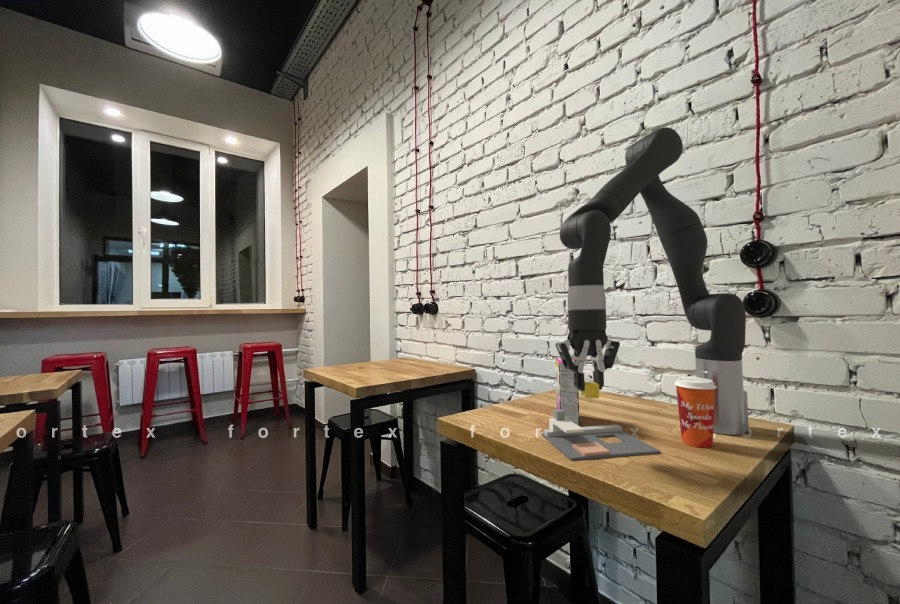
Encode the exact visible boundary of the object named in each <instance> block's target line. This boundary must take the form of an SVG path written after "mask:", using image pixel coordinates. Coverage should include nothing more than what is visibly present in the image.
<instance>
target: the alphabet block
mask: <svg viewBox="0 0 900 604" xmlns="http://www.w3.org/2000/svg"><path fill="white" fill-rule="evenodd" d="M584 383H585V390H584V391H580V390H578V395H580V396H581V397H583V398H584V399H599V398H600V390H599V384H597V383H595V382H593V380H584Z"/></svg>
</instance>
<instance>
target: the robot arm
mask: <svg viewBox="0 0 900 604" xmlns="http://www.w3.org/2000/svg"><path fill="white" fill-rule="evenodd" d="M683 149H684V146H683V141H682V138H681V135H680V134H679V133H678V132H677V130H675V129H673V128H671V127H666V126H665V127H660V128H658V129H656V130H652V131H651V132H650V133H648V134H646V135H645V136H643V137H642V138H640V139H638V140H637V141H635V142H634V143H632V144H630V145H629V146H628V147H627V149H626V151H625V156H624V157H625V159H624V160H625V164H626V167H625V168H624V169H622V170H621V171H620V172H618V173H617V174H616V175H614V176H613V177H612V178H611V179H609V181H607V182H606V183H605V184H604V185H603V186H602V187H601V188H600V189H599V190H598V191H597V192H596V194H594V196H592V198H591V199H590V200H589V201H587V202H586V203H585V204H583V205H582V206H581V207H579V208H578V209H577V210H575V211H574V212H573V213H572V214H570V215H569V216H568V217H567V218H566V219H565V220H564V221H563V223H562V224H561V226H560V229H559V240H560V242H561V244H562V245H563V246H564V247H565V248H567V249H569V250H570V249H571V250H580V253H579V254H578V256H577V257H576V258H574V259H573V260H571V261H570V262H568V266H567V267H568V268H567V275H568V277H567V278H568V279H567V282H568V287H567V288H568V291H567V321H568V325H567V326H568V336H567V337H566V340H563V341H562V342H561V341H560V342H559V341H557V342H556V343H555V348H556V350H557V353H558V354H559V357H560V358H561V360H562V362H563V364H564V367H565V368H567V369H570V370H572V371H573V372H574V385H575V387H576V388H577V390H578V391H579V390H580V391H584V390H585V383H584V381H585V373H584V370H585V369H584V367H585V363H586V362H587V357H588V356H589V360H591V363H592V368H593V371H592V381H593V382H595V383H597V384H599V391H602V390H603V388H604V386H605V375H604V373H605V371H606V370H609V369H612V368H613V366H614V364H615V361H616V358H617V356H618V355H617V354H618V351H619V349H620V346H621V343H620V342H619V341H618V340H613V339H610V338H608V335H607V332H606V330H607V303H606V302H607V301H606V292H605V282H604V281H605V280H604V279H605V278H604V277H605V275H604V264H605V262H606V261H605V260H606V257H607V252H608V249H609V245H610V239H611V236H612V235H611V233H612V227H611V226H612V225H611V223H613V222H614V221H615V220H617V219H618V218H619V216H621V215H622V213H623V212H624V211H625V210H626V209H627V208H628V206H629V205H631V203H632V202H633V201H634V200H635V198H636V197H637V196H638V195H639V194H640V195H641V198H642V200H643V201H644V204H645V205H646V208H647V210H648V212H649V214H650V217H651V220H652V222H653V224H654V227H655V229H656V234H657V235H658V238H659V241H660V244H661V246H662V248H663V250H664V253H665V255H666V257H667V260H668V263H669V266H670V268H671V271H672V274H673V276H674V280H675V282H676V286H677V288H678V293H679V296H680V300H681V305H682V308H683V311H684V314H685V317H686V319H687V321H688V323H689V324H690V325H691V326H692V327H693V328H694V329H696V330H700V331H701V330H702V331H710V338H709V340H708V341H706V342H705V343H702V344H699V345H697V346H696V347H695V350H694V355H695V357H694V359H695V360H694V361H695V377H698V378H705V379H710V380H712V381H713V382H714V383H715V384H714V385H715V386H717V388H715V395H714V429H713V433H715V434H721V435H730V436H733V435H734V436H738V435H744V434H745V433H746V432H749V431H750V430H749V428H750V427H749V403H748V402H749V401H748V392H747V391H746V390H744V375H743V374H744V373H743V352H744V350H745V346H746V327H747V326H746V325H747V320H746V319H747V318H746V317H747V315H746V308H745V304H744V302H743V301H742V299H741V298H740V297H739V296H738V295H736V294H735V293H730V292H729V293H728V292H725V293H723V292H722V293H709V290H708V288H707V286H706V282H705V279H704V275H703V267H704V262H705V259H706V254H707V251H708V250H707V249H708V238H707V233H706V231H705V229H704V226H703V223H702V221H701V218H700V216H699V215H698V213H697V212H696V211H695V210H694V209H693V208H691V207H690V206H689V205H687V204H686V203H685V202H683V201H682V200H680V199H678V198H677V197H675V196H674V195H673V194H672V193H671V192H669V191H668V190H667V189H666V186H665V185H664V183H663V181H662V180H661V178H660V175H661V174H662V172H664V171H665V170H666V169H668V168H669V167H671V166H672V165H674V164H675V163H677V161H678V160H679V158H681V157H682V153H683ZM570 347H571V349H572V350H573V352H572V353H573V354H572V356H571V354H570V350H571V349H570ZM604 348H605V351H604V353H603V349H604ZM572 359H573V360H572Z"/></svg>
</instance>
